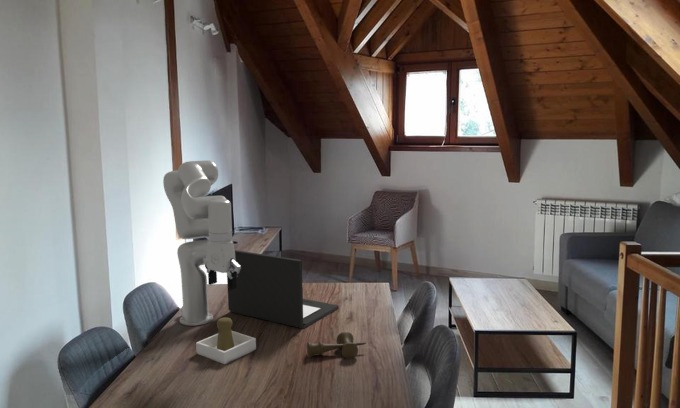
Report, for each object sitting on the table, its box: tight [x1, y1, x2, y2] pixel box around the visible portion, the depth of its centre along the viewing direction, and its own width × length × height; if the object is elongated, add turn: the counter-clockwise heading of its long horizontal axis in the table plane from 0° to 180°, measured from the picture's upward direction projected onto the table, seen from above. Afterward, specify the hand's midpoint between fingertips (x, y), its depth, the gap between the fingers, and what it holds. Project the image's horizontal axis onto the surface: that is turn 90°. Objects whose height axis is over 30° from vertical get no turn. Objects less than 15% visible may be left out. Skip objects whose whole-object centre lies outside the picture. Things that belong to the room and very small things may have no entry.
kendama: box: [306, 331, 367, 359], centre depth 177 cm, size 6×10×20 cm
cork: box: [216, 316, 234, 351], centre depth 179 cm, size 6×6×11 cm
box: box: [195, 330, 257, 365], centre depth 180 cm, size 14×14×4 cm
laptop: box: [226, 249, 340, 330], centre depth 217 cm, size 37×27×27 cm
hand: (222, 286), depth 178 cm, fingers open, 9 cm apart
